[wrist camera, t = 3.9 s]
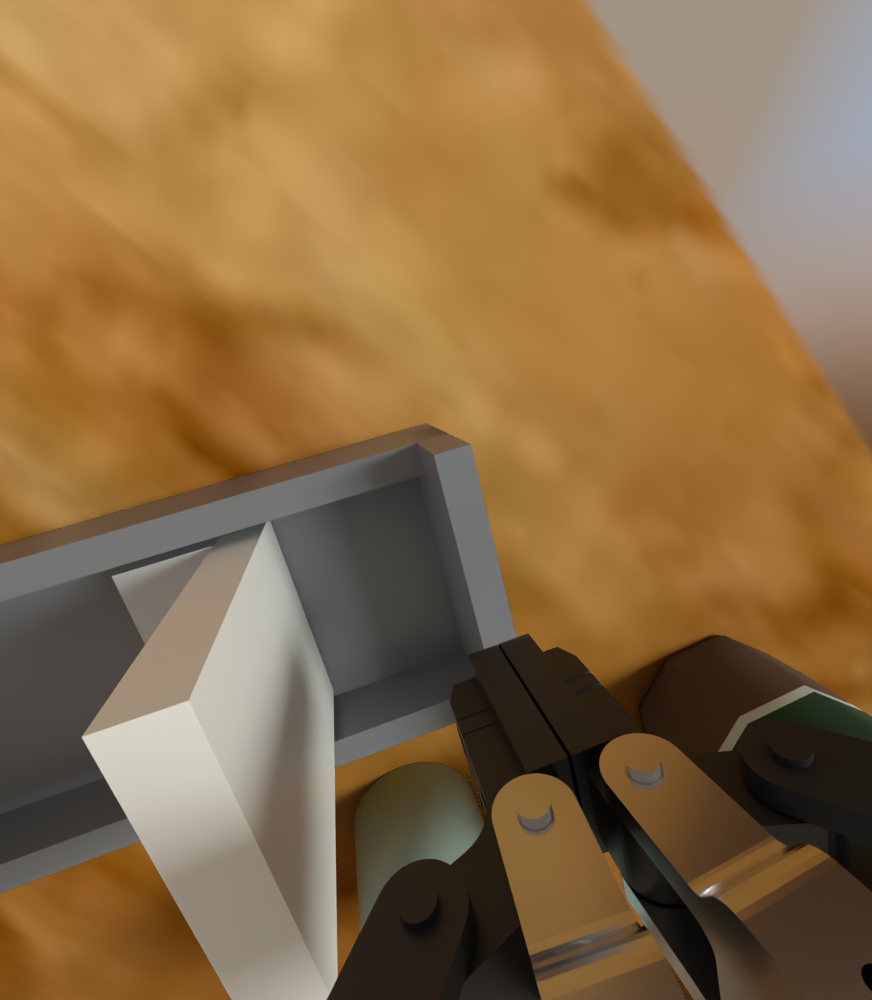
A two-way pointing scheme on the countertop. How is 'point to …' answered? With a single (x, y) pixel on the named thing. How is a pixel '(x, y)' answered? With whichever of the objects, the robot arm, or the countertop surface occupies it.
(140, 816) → the pusher
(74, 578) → the gray rectangular tray
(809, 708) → the beer bottle
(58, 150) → the countertop surface
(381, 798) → the jar
